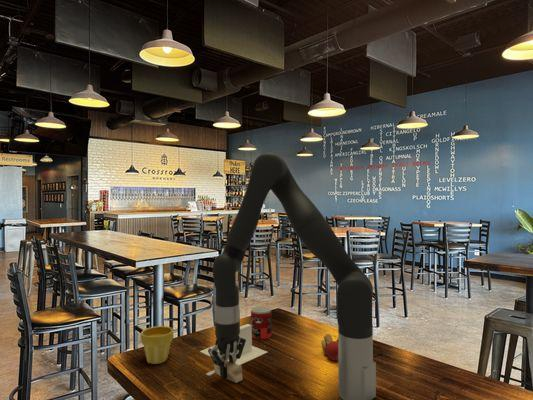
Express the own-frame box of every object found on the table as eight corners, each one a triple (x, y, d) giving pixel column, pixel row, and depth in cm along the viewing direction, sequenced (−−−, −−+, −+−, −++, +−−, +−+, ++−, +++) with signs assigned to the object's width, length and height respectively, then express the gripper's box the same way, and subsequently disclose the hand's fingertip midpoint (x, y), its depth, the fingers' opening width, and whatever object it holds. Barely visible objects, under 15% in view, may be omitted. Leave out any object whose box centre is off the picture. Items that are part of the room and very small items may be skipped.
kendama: (315, 345, 137) (322, 360, 119) (318, 328, 138) (325, 340, 120) (336, 349, 137) (346, 364, 119) (338, 332, 138) (349, 344, 120)
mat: (267, 353, 127) (267, 351, 127) (233, 369, 116) (233, 367, 116) (233, 339, 140) (233, 338, 140) (199, 352, 128) (199, 351, 128)
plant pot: (158, 350, 130) (158, 323, 130) (179, 357, 124) (179, 328, 124) (134, 362, 121) (134, 332, 121) (156, 369, 116) (156, 339, 115)
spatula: (248, 376, 109) (247, 363, 109) (230, 385, 104) (229, 371, 104) (213, 364, 120) (212, 352, 120) (195, 371, 115) (194, 359, 115)
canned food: (248, 335, 144) (248, 307, 144) (266, 332, 147) (266, 305, 147) (255, 342, 137) (255, 313, 137) (274, 339, 140) (274, 310, 140)
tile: (251, 350, 128) (251, 325, 128) (230, 359, 121) (230, 332, 121) (247, 348, 130) (247, 323, 130) (226, 357, 123) (226, 331, 123)
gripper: (217, 328, 102) (217, 389, 102) (252, 316, 112) (252, 372, 112) (201, 321, 107) (201, 380, 107) (236, 311, 117) (236, 364, 117)
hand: (227, 375), depth 110 cm, fingers closed on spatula, 2 cm apart
